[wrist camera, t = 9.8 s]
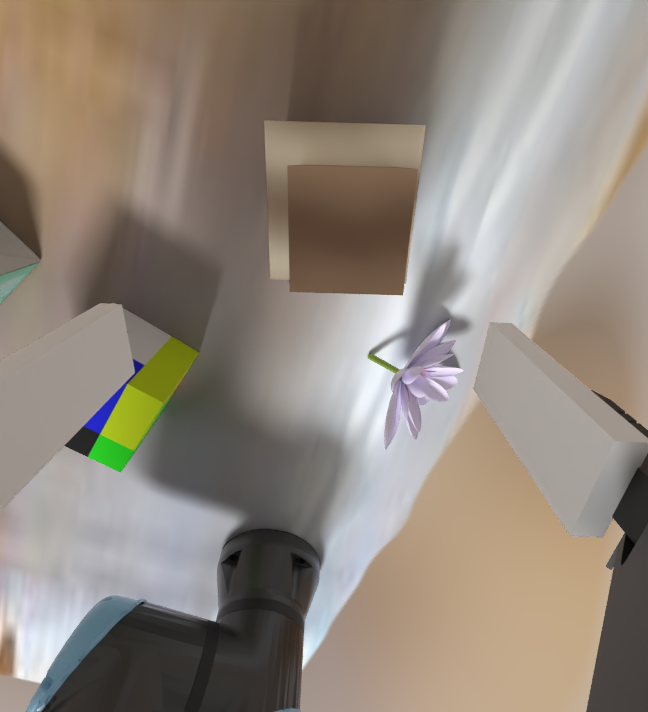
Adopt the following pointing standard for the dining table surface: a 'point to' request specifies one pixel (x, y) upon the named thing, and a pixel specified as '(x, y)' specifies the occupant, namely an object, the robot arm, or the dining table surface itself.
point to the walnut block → (349, 228)
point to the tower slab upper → (329, 148)
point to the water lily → (419, 382)
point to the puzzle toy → (135, 396)
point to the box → (13, 261)
